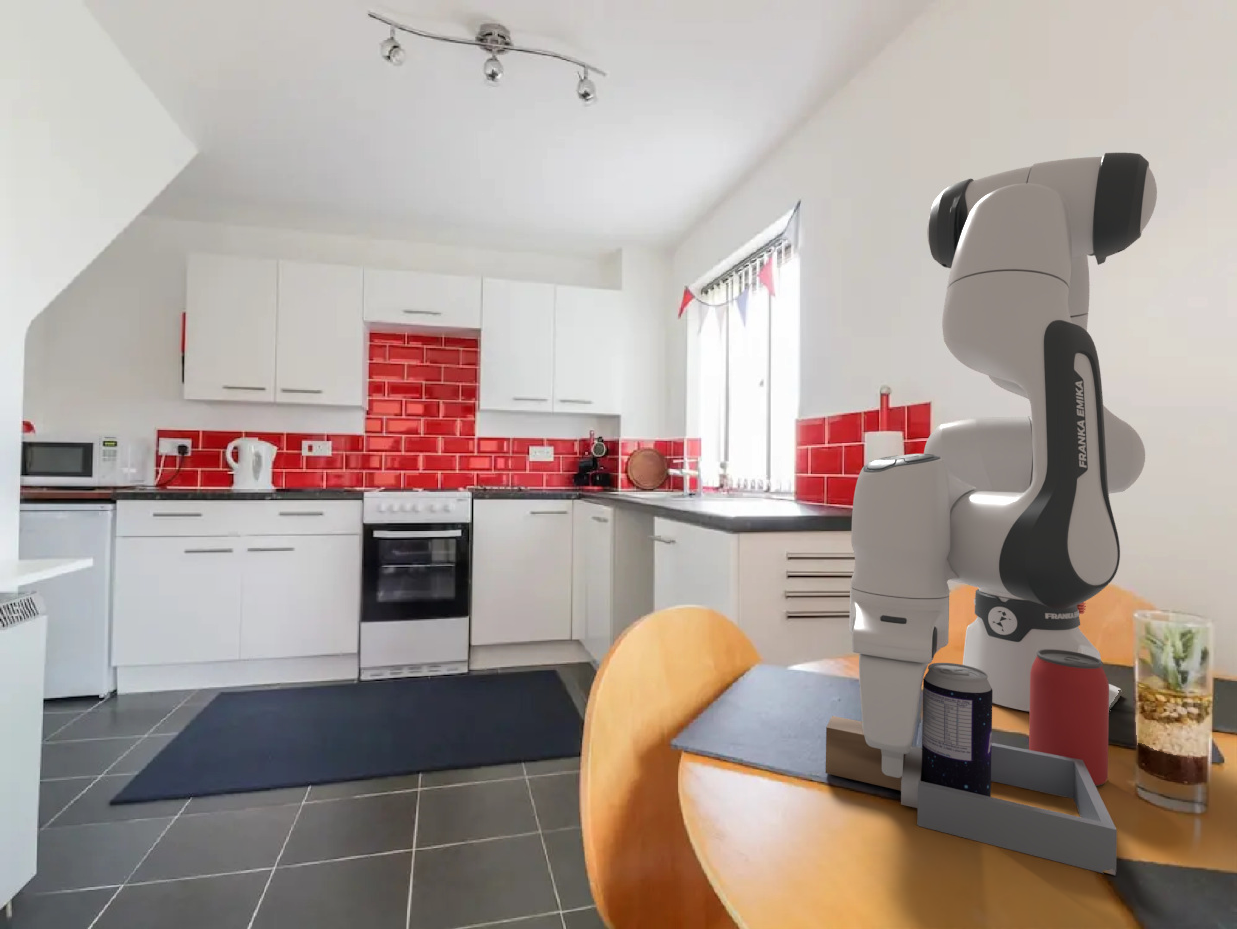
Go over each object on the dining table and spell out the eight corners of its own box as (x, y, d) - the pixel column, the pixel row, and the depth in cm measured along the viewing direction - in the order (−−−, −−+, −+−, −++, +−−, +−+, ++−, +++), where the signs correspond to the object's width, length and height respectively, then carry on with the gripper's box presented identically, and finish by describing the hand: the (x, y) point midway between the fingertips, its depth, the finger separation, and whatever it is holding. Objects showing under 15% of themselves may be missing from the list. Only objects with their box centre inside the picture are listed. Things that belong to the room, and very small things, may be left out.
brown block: (835, 749, 68) (836, 707, 68) (923, 768, 64) (923, 723, 64) (820, 784, 60) (821, 737, 60) (919, 808, 56) (920, 757, 56)
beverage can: (1001, 819, 55) (1003, 682, 55) (932, 812, 56) (935, 677, 56) (975, 788, 61) (977, 663, 61) (913, 782, 62) (915, 659, 62)
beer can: (1073, 793, 60) (1075, 667, 61) (1013, 762, 67) (1015, 649, 67) (1124, 786, 62) (1126, 664, 62) (1061, 757, 68) (1063, 646, 69)
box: (922, 763, 66) (923, 729, 66) (1082, 797, 60) (1082, 760, 60) (917, 825, 54) (918, 784, 54) (1116, 876, 48) (1116, 829, 48)
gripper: (874, 599, 72) (871, 720, 72) (849, 637, 54) (845, 800, 54) (935, 605, 69) (933, 732, 69) (931, 649, 51) (927, 821, 51)
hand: (894, 763), depth 61 cm, fingers closed on brown block, 3 cm apart
